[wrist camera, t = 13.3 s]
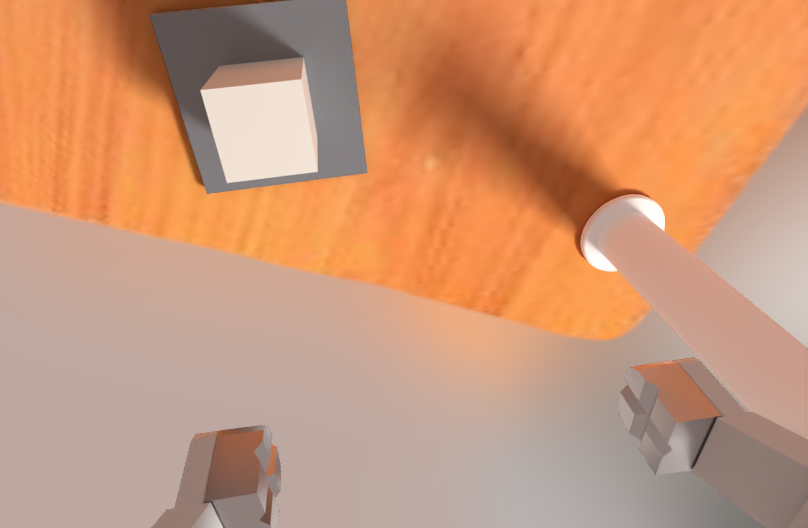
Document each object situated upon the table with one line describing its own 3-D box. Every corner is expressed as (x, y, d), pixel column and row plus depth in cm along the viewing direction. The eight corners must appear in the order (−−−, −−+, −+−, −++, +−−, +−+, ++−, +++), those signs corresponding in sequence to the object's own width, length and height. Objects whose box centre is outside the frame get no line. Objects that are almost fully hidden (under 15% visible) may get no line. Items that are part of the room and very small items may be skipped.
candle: (568, 265, 43) (808, 568, 22) (596, 190, 39) (915, 467, 18) (640, 268, 44) (930, 555, 23) (674, 196, 41) (1052, 459, 20)
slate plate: (153, 12, 28) (149, 14, 28) (344, -7, 29) (345, -5, 29) (209, 189, 34) (207, 193, 34) (366, 168, 35) (367, 172, 35)
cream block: (219, 65, 30) (200, 90, 25) (303, 57, 30) (301, 79, 25) (240, 146, 32) (226, 183, 27) (317, 137, 33) (317, 171, 28)
